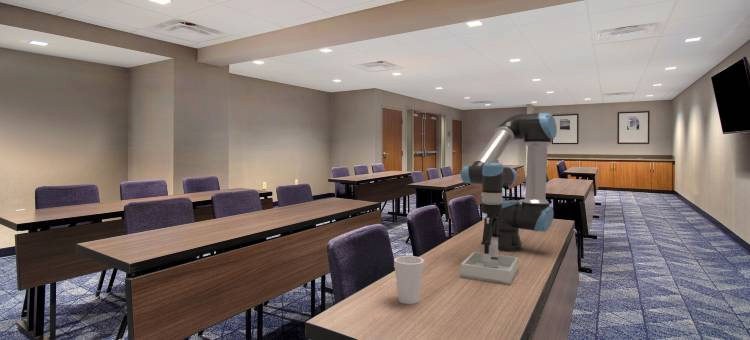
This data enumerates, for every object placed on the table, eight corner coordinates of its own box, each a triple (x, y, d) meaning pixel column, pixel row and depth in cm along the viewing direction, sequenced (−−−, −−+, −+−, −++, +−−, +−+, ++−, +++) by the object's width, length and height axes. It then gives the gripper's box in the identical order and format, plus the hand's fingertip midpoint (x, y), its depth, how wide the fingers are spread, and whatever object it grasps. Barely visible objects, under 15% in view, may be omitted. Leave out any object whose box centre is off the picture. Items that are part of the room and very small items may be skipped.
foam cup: (392, 294, 130) (392, 256, 129) (419, 294, 130) (420, 255, 130) (396, 306, 120) (396, 264, 119) (426, 305, 121) (426, 264, 120)
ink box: (498, 274, 148) (498, 243, 147) (484, 273, 149) (485, 243, 148) (496, 267, 156) (496, 238, 156) (483, 266, 157) (483, 237, 157)
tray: (473, 263, 166) (473, 251, 165) (518, 269, 157) (518, 257, 157) (460, 277, 148) (460, 264, 148) (510, 285, 139) (510, 271, 139)
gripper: (488, 198, 164) (487, 248, 165) (474, 206, 142) (473, 264, 143) (507, 200, 160) (506, 251, 161) (495, 208, 138) (494, 267, 139)
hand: (490, 257), depth 152 cm, fingers open, 13 cm apart
